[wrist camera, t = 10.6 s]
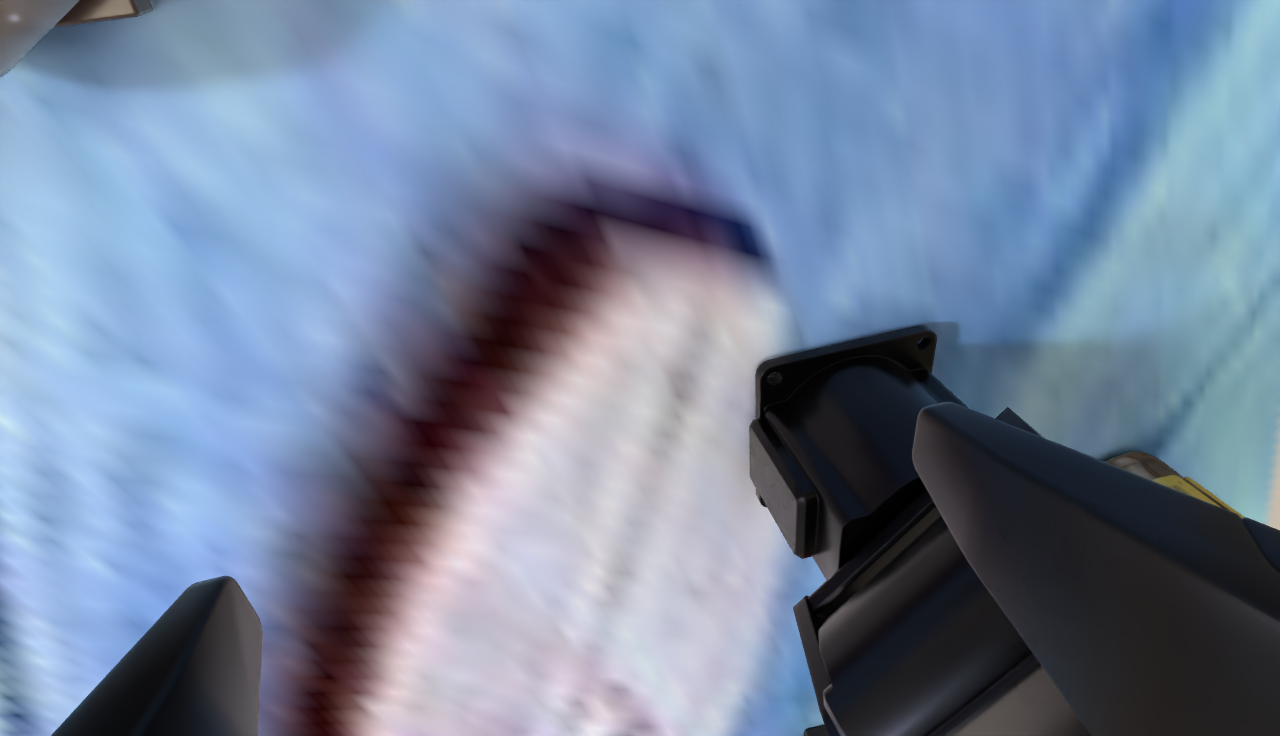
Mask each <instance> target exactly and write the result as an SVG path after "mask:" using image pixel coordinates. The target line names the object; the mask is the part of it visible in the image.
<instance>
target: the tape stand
mask: <svg viewBox="0 0 1280 736" xmlns="http://www.w3.org/2000/svg"><path fill="white" fill-rule="evenodd" d="M152 10H153V7H152V4H151V2H150V0H80V1H79V2H78V3H77V4H76V5H75V6H74V7H73V8H72V9H71V10H70V11H69V12H68V13H67V14H66V15H65V16H64V17H63V18H62V19H61V20H60V21H59V22H58V23H57V24H56V25H55V26H54V27H61V26H68V25H76V24H84V23H91V22H99V21H107V20H114V19H122V18H130V17H137V16H140V15H142V14H145V13H148V12H150V11H152Z"/></svg>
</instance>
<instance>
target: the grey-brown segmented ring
mask: <svg viewBox="0 0 1280 736" xmlns="http://www.w3.org/2000/svg"><path fill="white" fill-rule="evenodd" d="M79 1H80V0H0V77H2V76H4V75H5V74H7V73H8V72H9V71H10V70H11V69H12V68H13V67H14V66H15V65H16V64H17V63H18V62H19V61H20V60H21V59H22V58H23V57H24V56H25V55H26V54H27V53H28V52H29V51H30V50H31V49H32V48H33V47H34V46H35V45H36V44H37V43H38V42H39V41H40V40H41V39H42V38H43V37H44V36H45V35H46V34H47V33H48V32H49V31H50V30H51V29H52V28H53V27H54V26H55V25H56V24H57V23H58V22H59V21H60V20H61V19H62V18H63V17H64V16H65V15H66V14H67V13H68V12H69V11H70V10H71V9H72V8H73V7H74V6H75V5H76V4H77V3H78V2H79Z"/></svg>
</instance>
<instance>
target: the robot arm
mask: <svg viewBox="0 0 1280 736" xmlns="http://www.w3.org/2000/svg"><path fill="white" fill-rule="evenodd" d="M922 338H923V340H922V341H921V342H920V343H918V342H919V341H920V340H921V339H922ZM936 342H937V336H936V335H935V333H934V332H933V331H931V330H930V329H929V328H928V327H926V326H916V327H912V328H907V329H903V330H899V331H894V332H890V333H885V334H881V335H877V336H872V337H868V338H864V339H859V340H855V341H850V342H846V343H842V344H837V345H833V346H828V347H824V348H820V349H815V350H811V351H806V352H802V353H798V354H793V355H789V356H784V357H780V358H776V359H771V360H768V361H766V362H764V363H762V364H761V365H760V366H759V368H758V369H757V371H756V419H754V420H753V421H752V423H751V425H750V427H749V434H750V478H751V480H752V481H753V483H754V485H755V487H756V495H757V498H758V500H759V501H760V503H761V505H763V506H764V507H767V508H768V509H769V511H770V513H771V515H772V516H773V518H774V520H775V522H776V523H777V525H778V527H779V529H780V530H781V532H782V534H783V536H784V537H785V539H786V541H787V543H788V544H789V546H790V548H791V550H792V551H793V553H794V554H795V555H797V556H798V557H800V558H802V559H803V558H807V557H811V556H812V557H813V558H814V560H815V562H816V563H817V565H818V567H819V568H820V570H821V572H822V573H823V575H824V577H825V578H826V580H827V581H826V582H824V583H823V584H822V585H821V586H820V587H819V588H818V589H817V590H816V591H815V592H814V593H813V594H812V595H811V596H805V597H804V598H803V599H802V600H801V601H800V602H799V603H797V604H796V605H795V606H794V607H793V609H794V613H795V617H796V621H797V625H798V629H799V632H800V636H801V640H802V644H803V648H804V651H805V655H806V659H807V663H808V667H809V670H810V674H811V678H812V682H813V686H814V689H815V693H816V697H817V701H818V705H819V709H820V712H821V715H822V718H823V721H824V724H825V727H826V731H827V735H828V736H1280V530H1277V529H1275V528H1272V527H1270V526H1267V525H1265V524H1262V523H1259V522H1257V521H1254V520H1252V519H1249V518H1242V519H1241V517H1240V516H1239V515H1238V514H1236V513H1234V512H1231V511H1229V510H1226V509H1223V508H1221V507H1218V506H1216V505H1213V504H1211V503H1208V502H1206V501H1203V500H1201V499H1198V498H1195V497H1193V496H1190V495H1188V494H1185V493H1183V492H1180V491H1178V490H1175V489H1173V488H1170V487H1167V486H1165V485H1162V484H1160V483H1157V482H1155V481H1152V480H1150V479H1147V478H1144V477H1142V476H1139V475H1137V474H1134V473H1132V472H1129V471H1127V470H1124V469H1122V468H1119V467H1116V466H1114V465H1111V464H1109V463H1106V462H1104V461H1101V460H1099V459H1096V458H1094V457H1091V456H1088V455H1086V454H1083V453H1081V452H1078V451H1076V450H1073V449H1071V448H1068V447H1066V446H1063V445H1060V444H1058V443H1055V442H1053V441H1050V440H1048V439H1046V438H1044V437H1043V436H1042V435H1041V434H1040V433H1038V432H1037V431H1036V430H1035V429H1034V428H1032V427H1031V426H1030V425H1029V424H1028V423H1026V422H1025V421H1024V420H1023V419H1022V418H1020V417H1019V416H1018V415H1017V414H1016V413H1014V412H1013V411H1012V410H1011V409H1010V408H1008V407H1007V408H1006V409H1005V410H1004V411H1003V412H1002V413H1001V414H1000V415H999V416H998V417H997V418H995V419H994V418H992V417H989V416H987V415H984V414H981V413H979V412H976V411H974V410H971V409H969V408H968V407H967V406H966V405H965V404H964V403H963V402H962V401H960V400H959V399H958V398H957V397H956V396H955V395H954V394H953V393H952V392H951V391H950V390H949V389H947V388H946V387H945V386H944V385H943V384H942V383H941V382H940V381H939V380H938V379H937V378H936V377H934V376H933V375H932V374H931V373H932V367H933V361H934V355H935V348H936ZM774 372H776V374H775V375H774V376H773V377H771V378H768V376H769V375H770V374H771V373H774ZM262 640H263V634H262V626H261V622H260V619H259V617H258V615H257V613H256V612H255V610H254V609H253V607H252V605H251V604H250V602H249V601H248V599H247V597H246V596H245V594H244V593H243V591H242V589H241V588H240V586H239V585H238V583H237V582H236V581H235V579H233V578H232V577H229V576H221V577H217V578H213V579H209V580H205V581H201V582H197V583H195V584H192V585H191V586H190V587H188V588H187V589H186V590H185V591H184V592H183V593H182V595H181V596H180V597H179V598H178V599H177V600H176V601H175V602H174V603H173V604H172V605H171V606H170V608H169V609H168V610H167V611H166V612H165V613H164V614H163V615H162V616H161V617H160V618H159V619H158V620H157V622H156V623H155V624H154V625H153V626H152V627H151V628H150V629H149V630H148V631H147V632H146V633H145V635H144V636H143V637H142V638H141V639H140V640H139V641H138V642H137V643H136V644H135V645H134V646H133V648H132V649H131V650H130V651H129V652H128V653H127V654H126V655H125V656H124V657H123V658H122V659H121V660H120V662H119V663H118V664H117V665H116V666H115V667H114V668H113V669H112V670H111V671H110V672H109V673H108V675H107V676H106V677H105V678H104V679H103V680H102V681H101V682H100V683H99V684H98V685H97V686H96V687H95V689H94V690H93V691H92V692H91V693H90V694H89V695H88V696H87V697H86V698H85V699H84V700H83V702H82V703H81V704H80V705H79V706H78V707H77V708H76V709H75V710H74V711H73V712H72V713H71V715H70V716H69V717H68V718H67V719H66V720H65V721H64V722H63V723H62V724H61V725H60V726H59V727H58V729H57V730H56V731H55V732H54V733H53V734H52V735H51V736H258V720H259V700H260V680H261V660H262Z"/></svg>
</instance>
